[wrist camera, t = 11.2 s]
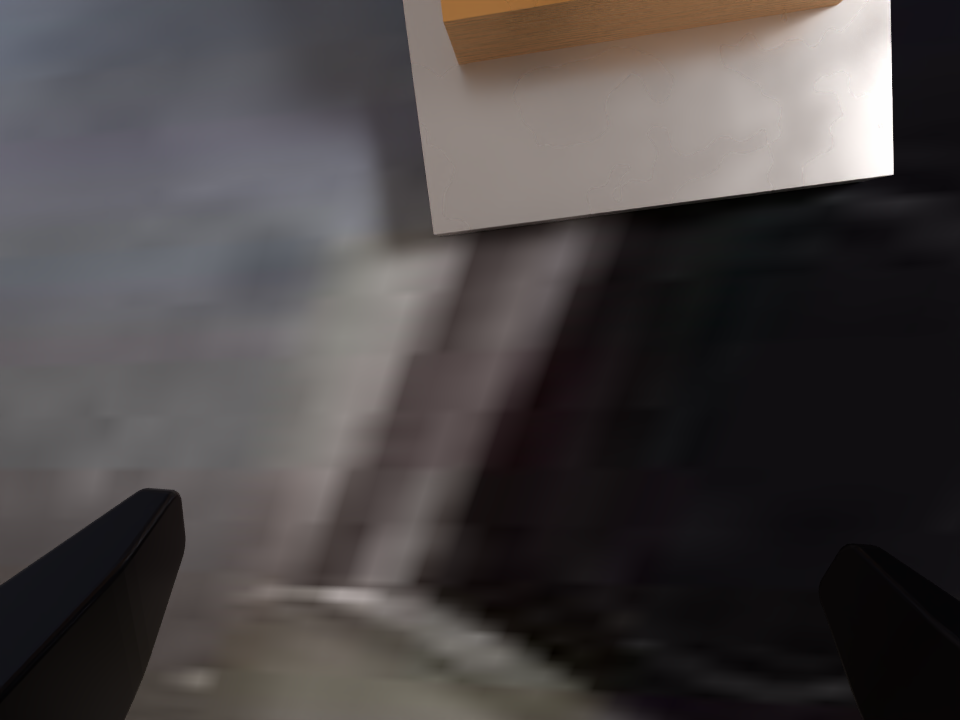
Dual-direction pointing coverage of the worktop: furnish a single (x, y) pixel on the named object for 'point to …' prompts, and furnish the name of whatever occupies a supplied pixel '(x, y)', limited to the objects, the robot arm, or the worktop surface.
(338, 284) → the worktop surface
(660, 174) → the bracket plate
